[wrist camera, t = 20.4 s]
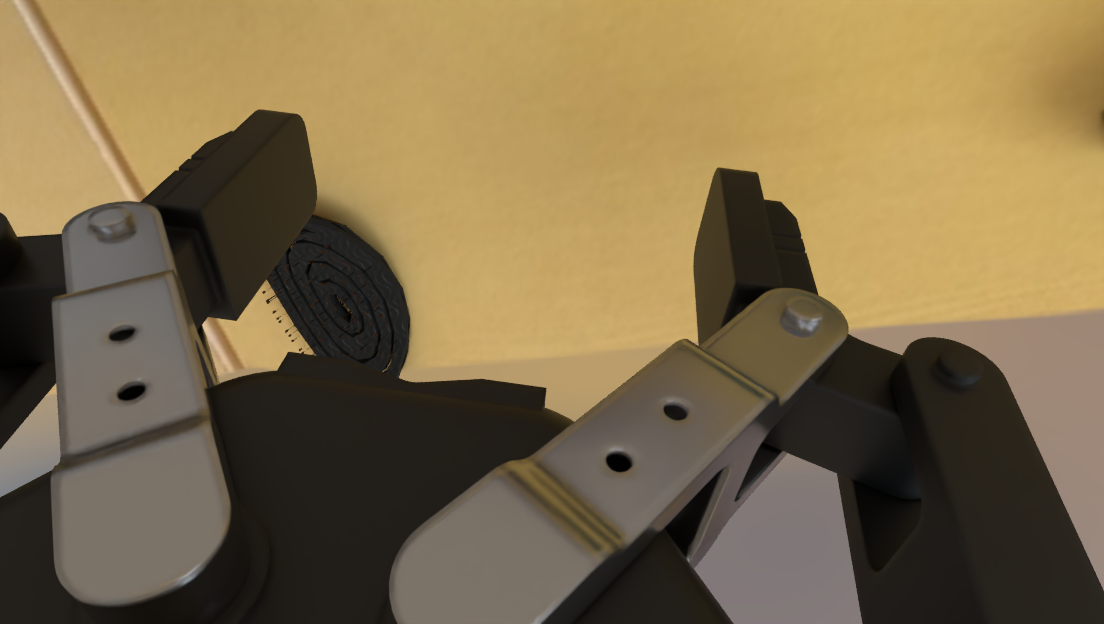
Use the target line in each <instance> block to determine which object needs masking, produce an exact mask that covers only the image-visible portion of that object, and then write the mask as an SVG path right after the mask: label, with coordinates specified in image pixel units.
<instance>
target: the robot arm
mask: <svg viewBox="0 0 1104 624" xmlns="http://www.w3.org/2000/svg"><path fill="white" fill-rule="evenodd" d="M191 157H192V158H191V159H188V160H186V161H185V162H184V163H183V164H182V165H181V166H180V167H179V171H177V170H175V171H174V172H173V173H172V174H171V175H170V176H169V177H168V178H166V179H165V180H164V181H163V182H162V183H161V184H160V185H159V186H158V187H157V188H155V189H154V190H153V191H152V192H151V193H150V194H149V195H148V196H147V197H145V198H144V199H143V200H142V201H141V202H133V201H124V202H114V203H108V204H103V205H99V206H96V207H93V208H90V209H88V210H86V211H84V212H82V213H80V214H78V215H76V216H75V217H73V218H72V219H71V220H70V221H69V222H67V224H66V225H65V226H64V228H63V230H62V234H56V235H40V236H24V237H17V236H16V234H15V232H14V230H13V229H12V227H11V225H10V223H9V221H8V220H7V218H6V216H4V215H3V214H2V213H0V449H1V448H2V447H3V445H4V444H5V443H6V442H7V441H8V439H9V438H10V437H11V436H12V435H13V434H14V432H15V431H16V430H17V428H19V426H20V425H21V424H22V423H23V422H24V420H25V419H26V418H27V417H28V416H29V414H30V413H31V412H32V411H33V410H34V409H35V407H36V406H37V405H38V404H39V403H40V401H41V400H42V399H43V398H44V397H45V395H46V394H47V393H48V392H49V391H50V390H51V388H52V387H53V386H54V385H55V384H57V400H58V415H59V416H58V417H59V433H60V434H59V435H60V451H61V457H60V462H59V464H58V465H56V466H55V467H54V468H53V470H52V471H50V472H48V473H46V474H44V475H42V476H40V477H38V478H36V479H34V480H32V481H31V482H29V483H27V484H25V485H23V486H21V487H19V488H17V489H15V490H14V491H12V492H10V493H8V494H6V495H4V496H2V497H0V624H733V622H732V621H731V620H730V618H729V617H728V615H727V614H726V613H725V611H724V610H723V609H722V607H721V606H720V604H719V603H718V602H717V600H716V599H715V598H714V596H713V595H712V593H711V592H710V591H709V589H708V588H707V587H706V585H705V584H704V582H703V581H702V580H701V578H700V577H699V576H698V574H697V573H696V572H695V570H694V568H695V567H696V566H697V565H698V563H699V562H700V561H701V560H702V558H703V557H704V556H705V555H706V553H707V552H708V550H709V549H710V548H711V546H712V545H713V543H714V542H715V540H716V539H717V537H718V535H719V534H720V532H721V531H722V529H723V527H724V526H725V525H726V523H727V522H728V521H729V519H730V518H731V517H732V516H733V514H734V513H735V512H736V511H737V510H738V509H739V508H740V507H741V505H742V504H743V503H744V502H745V501H746V500H747V499H748V497H749V496H750V495H751V494H752V493H753V492H754V491H755V490H756V488H757V487H758V486H759V485H760V484H761V483H762V482H763V480H764V479H765V478H766V477H767V476H768V474H770V472H771V471H772V470H773V469H774V468H775V467H776V466H777V465H778V463H779V462H780V461H781V460H782V459H783V458H784V457H785V455H786V454H787V453H789V454H792V455H794V456H796V457H799V458H801V459H804V460H806V461H809V462H811V463H813V464H816V465H818V466H821V467H823V468H826V469H828V470H830V471H833V472H835V473H837V476H838V482H839V488H840V494H841V499H842V506H843V511H844V518H845V524H846V529H847V535H848V541H849V547H850V552H851V559H852V565H853V570H854V576H855V582H856V588H857V594H858V600H859V606H860V612H861V617H862V623H863V624H1104V591H1103V588H1102V586H1101V584H1100V582H1099V580H1098V578H1097V575H1096V573H1095V571H1094V569H1093V566H1092V565H1091V562H1090V560H1089V558H1088V556H1087V553H1086V551H1085V549H1084V547H1083V545H1082V543H1081V540H1080V538H1079V536H1078V534H1077V532H1076V530H1075V527H1074V525H1073V523H1072V521H1071V519H1070V517H1069V514H1068V512H1067V510H1066V508H1065V506H1064V504H1063V501H1062V499H1061V497H1060V495H1059V493H1058V491H1057V488H1056V486H1055V484H1054V482H1053V480H1052V478H1051V475H1050V473H1049V471H1048V469H1047V467H1046V465H1045V462H1044V460H1043V458H1042V456H1041V454H1040V451H1039V449H1038V447H1037V445H1036V443H1035V441H1034V438H1033V436H1032V434H1031V432H1030V430H1029V428H1028V425H1027V423H1026V421H1025V419H1024V417H1023V415H1022V412H1021V410H1020V408H1019V406H1018V404H1017V401H1016V399H1015V397H1014V395H1013V393H1012V391H1011V388H1010V386H1009V384H1008V382H1007V380H1006V378H1005V376H1004V375H1003V373H1002V372H1001V371H1000V369H999V368H998V367H997V366H996V365H995V364H994V363H993V362H992V361H991V360H989V359H988V358H987V357H986V356H984V355H983V354H981V353H979V352H978V351H976V350H974V349H972V348H971V347H969V346H966V345H964V344H961V343H959V342H956V341H953V340H949V339H944V338H936V337H931V338H929V337H927V338H921V339H918V340H916V341H914V342H912V343H911V344H910V345H909V346H908V347H907V349H906V350H905V352H904V353H903V355H900V354H897V353H894V352H891V351H888V350H886V349H882V348H880V347H877V346H874V345H871V344H869V343H866V342H864V341H861V340H859V339H857V338H855V337H853V336H851V335H849V334H848V323H847V320H846V319H845V317H844V315H843V314H842V313H841V311H840V310H839V309H838V308H837V307H836V306H834V305H833V304H832V303H831V302H829V301H828V300H826V299H824V298H823V297H820V296H819V295H818V292H817V288H816V285H815V281H814V278H813V274H812V271H811V267H810V264H809V260H808V257H807V254H806V253H805V247H804V243H803V240H802V239H801V233H800V229H799V226H798V222H797V219H796V217H795V216H794V215H793V214H792V213H791V212H790V211H789V210H788V209H787V208H786V207H785V206H784V205H783V203H782V202H779V201H771V200H764V198H763V193H762V189H761V184H760V180H759V176H758V173H757V172H750V171H742V170H734V169H726V168H717V169H716V171H715V173H714V176H713V179H712V183H711V187H710V191H709V194H708V198H707V202H706V206H705V209H704V213H703V217H702V221H701V225H700V228H699V232H698V236H697V240H696V246H695V252H694V282H695V297H696V312H697V327H698V342H699V346H697V345H696V344H694V343H692V342H691V341H689V340H688V339H681V340H679V341H677V342H676V343H674V344H673V345H672V346H670V347H669V348H668V349H666V351H664V352H663V353H661V355H659V356H658V357H657V358H655V359H654V360H653V361H651V362H650V363H649V364H647V365H646V366H645V367H644V368H642V369H641V370H640V371H639V372H637V373H636V374H635V375H634V376H632V377H631V378H630V379H629V380H627V381H626V382H625V383H623V384H622V385H621V386H620V387H618V388H617V389H616V390H615V391H613V392H612V393H611V394H609V395H608V396H607V397H606V398H604V399H603V400H602V401H600V402H599V403H598V404H597V405H596V406H594V407H593V408H592V409H590V410H589V411H588V412H587V413H585V414H584V415H583V416H582V417H580V418H579V419H578V420H576V421H575V422H574V421H572V420H571V419H569V418H567V417H565V416H563V415H561V414H559V413H557V412H555V411H552V410H550V409H547V408H545V396H546V388H543V387H535V386H529V385H522V384H514V383H507V382H500V381H492V380H486V379H473V380H455V381H436V382H417V383H416V382H409V381H405V380H402V379H400V378H397V377H394V376H391V375H389V374H386V373H383V372H381V371H378V370H375V369H372V368H370V367H367V366H364V365H362V364H359V363H356V362H353V361H350V360H343V359H336V358H329V357H322V356H315V355H308V354H300V353H293V352H288V353H287V355H286V357H285V358H284V360H283V362H282V363H281V365H280V367H279V368H278V370H277V371H268V372H261V373H255V374H250V375H246V376H242V377H238V378H235V379H232V380H228V381H225V382H222V383H220V382H219V379H218V375H217V372H216V368H215V365H214V361H213V358H212V354H211V351H210V347H209V344H208V341H207V337H206V334H205V332H204V329H203V326H202V324H203V323H204V321H205V320H206V319H207V317H213V318H220V319H227V320H234V321H237V319H238V318H239V316H240V315H241V314H242V312H243V311H244V309H245V308H246V307H247V305H248V304H249V302H250V301H251V300H252V298H253V297H254V296H255V294H256V293H257V291H258V290H259V289H260V287H261V286H262V284H263V283H264V282H265V280H266V279H267V278H268V276H269V275H270V273H271V272H272V271H273V269H274V268H275V266H276V265H277V264H278V262H279V261H280V259H281V258H282V257H283V255H284V254H285V253H286V251H287V250H288V248H289V247H290V246H291V244H292V243H293V241H294V240H295V239H296V237H297V236H298V234H299V233H300V232H301V230H302V229H303V228H304V226H305V225H306V223H307V222H308V221H309V219H310V218H311V216H312V214H313V212H314V209H315V206H316V200H317V186H316V180H315V175H314V169H313V164H312V158H311V153H310V148H309V142H308V137H307V131H306V127H305V123H304V121H303V119H302V118H301V116H300V115H298V114H293V113H285V112H277V111H269V110H256V111H255V112H254V113H253V114H252V115H251V116H250V117H249V118H247V119H246V120H245V121H244V122H243V123H242V124H241V125H240V126H239V127H238V128H237V129H236V130H235V131H234V132H233V131H230V132H228V133H226V134H224V135H221V136H219V137H217V138H215V139H213V140H210V141H208V142H206V143H205V144H204V145H203V146H202V147H201V148H200V149H199V150H198V151H196V152H195V153H194V154H193V155H192V156H191Z"/></svg>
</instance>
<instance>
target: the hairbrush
mask: <svg viewBox="0 0 1104 624" xmlns="http://www.w3.org/2000/svg"><path fill="white" fill-rule="evenodd" d="M293 242H295V244H294V245H293V248H292V250H291V248H290V247H291V246H290V247H289V248H288V250H287V251H286V253H285V254H284V255H283V257H282V258H281V259H280V261H279V262H278V264H277V265H276V266H275V268H274V269H273V271H272V272H271V273H270V275H269V276H268V278H267V281H268V282H269V284H270V286H271V288H272V289H273V291H274V292H275V294H276V295H275V296H277V297H278V299H279V301H280V302H281V304H282V305H283V307H284V309H285V310H286V312H287V314H288V315H289V317H290V319H291V320H292V322H293V324H294V325H295V327H296V328H297V330H298V331H299V332H300V334H301V335H302V336H303V338H304V339H305V341H306V342H307V343H308V345H309V346H310V347H311V349H312V350H313V351H314V354H316V356H322V357H329V358H336V359H343V360H350V361H353V362H356V363H359V364H362V365H364V366H367V367H370V368H372V369H375V370H378V371H381V372H382V371H383V370H384V369H385V368H386V367H387V365H388V363H389V361H390V358H391V354H392V353H393V357H392V362H391V364H390V366H388V370H386V371H384V372H383V373H386V374H389V375H391V376H394V377H397V378H399V375H400V372H401V370H402V367H403V365H404V362H405V360H406V356H407V353H408V343H409V328H410V317H409V312H408V308H407V304H406V300H405V296H404V292H403V288H402V287H401V285H400V283H399V282H398V280H397V278H396V277H395V275H394V274H393V272H392V270H391V269H390V267H389V265H388V264H387V262H386V260H385V259H384V257H383V256H382V255H381V254H379V253H378V252H377V251H376V250H375V249H373V248H372V247H371V246H370V245H369V244H367V243H366V242H365V241H364V240H363V239H361V238H360V237H359V236H358V235H356V234H355V233H354V232H353V231H352V230H350V229H349V228H348V227H347V226H346V225H343V224H340V223H337V222H333V221H330V220H327V219H324V218H321V217H318V216H315V215H312V216H311V218H310V219H309V221H308V222H307V223H306V225H305V226H304V228H303V229H302V230H301V232H300V233H299V234H298V236H297V237H296V239H295V240H294V241H293ZM291 245H292V244H291ZM312 261H313V263H312ZM269 289H270V288H269ZM266 291H267V290H266ZM262 293H263V294H264V293H265V291H263V292H262ZM337 296H338V297H339V300H341V301H342V302H341V303H342V305H343V304H345V305H346V306H347V307H348V308H349V309H350V311H349V313H351V312H352V315H349V314H348V312H347V311H346V310H345V309H344V307H343V306H342V305H341V303H340V302H339V301H338V298H337ZM273 297H274V296H273ZM273 297H271V298H270V299H272V298H273ZM275 298H276V297H275ZM270 299H268V300H266V302H267V304H268V303H270V301H269V300H270ZM272 300H273V299H272ZM272 300H271V301H272ZM275 312H276V311H273V313H275ZM273 313H272V314H273ZM283 315H284V314H283ZM280 317H281V316H280ZM276 319H277V320H278V319H279V317H278V318H276ZM278 323H281V320H280V321H279V322H278ZM363 326H364V327H363ZM291 328H292V327H291ZM288 330H289V329H288ZM288 330H286V331H285V333H286V332H288ZM295 332H296V331H295ZM290 336H291V334H290V335H289V337H290ZM298 337H299V336H298ZM294 340H295V339H294ZM294 340H292V341H291V342H293V341H294ZM379 342H380V343H379ZM378 345H379V348H378V350H377V352H376V353H375V354H374V352H375V351H376V349H377V347H378ZM304 347H305V346H304ZM310 347H309V348H310ZM309 348H308V349H309ZM301 350H302V348H301V349H299V351H301ZM392 350H393V352H392ZM304 352H305V351H304ZM304 352H302V353H301V354H304ZM314 354H313V355H314ZM373 354H374V355H373Z"/></svg>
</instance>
